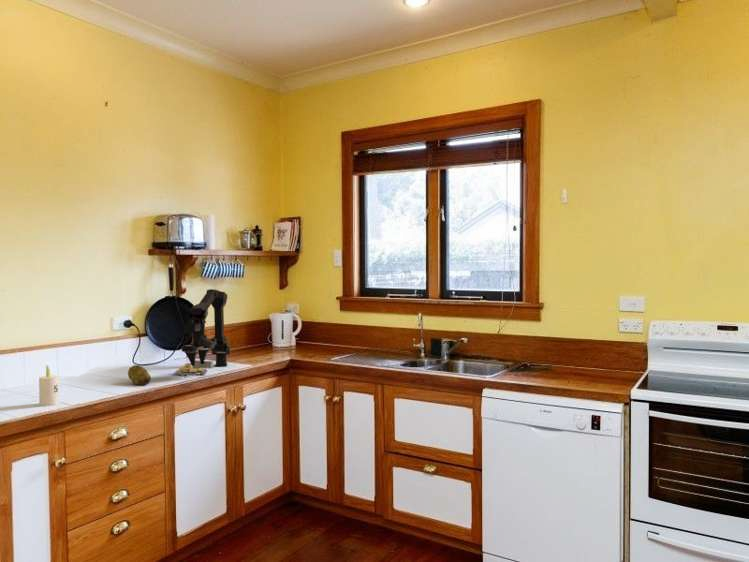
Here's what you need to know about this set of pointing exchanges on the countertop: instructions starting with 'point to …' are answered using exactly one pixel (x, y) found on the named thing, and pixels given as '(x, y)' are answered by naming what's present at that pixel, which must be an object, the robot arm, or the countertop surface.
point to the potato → (139, 375)
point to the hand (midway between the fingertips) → (197, 365)
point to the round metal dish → (190, 372)
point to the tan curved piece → (196, 366)
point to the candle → (48, 389)
